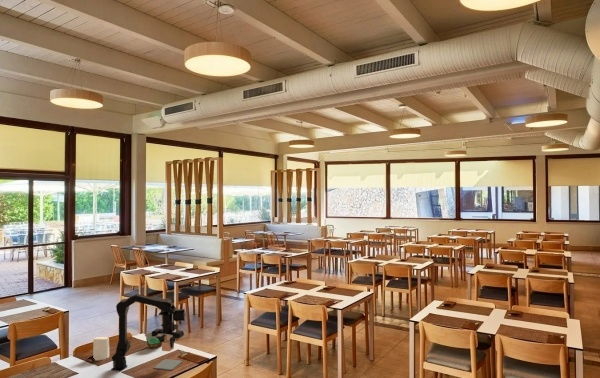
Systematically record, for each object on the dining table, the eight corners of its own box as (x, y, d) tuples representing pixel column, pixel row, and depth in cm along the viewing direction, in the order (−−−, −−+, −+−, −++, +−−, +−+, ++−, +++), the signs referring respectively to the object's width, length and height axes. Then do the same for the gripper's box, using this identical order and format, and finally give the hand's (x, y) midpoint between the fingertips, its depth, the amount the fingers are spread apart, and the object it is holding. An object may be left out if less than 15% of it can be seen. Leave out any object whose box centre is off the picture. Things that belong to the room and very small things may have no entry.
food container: (145, 350, 263) (144, 335, 263) (145, 347, 269) (144, 332, 269) (165, 347, 268) (164, 332, 268) (164, 344, 273) (164, 329, 273)
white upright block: (112, 354, 258) (111, 335, 258) (104, 360, 249) (103, 341, 249) (98, 354, 259) (98, 335, 259) (90, 360, 250) (89, 340, 250)
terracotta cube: (161, 350, 239) (161, 342, 239) (166, 347, 244) (166, 339, 244) (169, 351, 238) (169, 343, 238) (174, 348, 243) (173, 339, 243)
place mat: (153, 368, 237) (153, 367, 237) (165, 360, 248) (165, 359, 248) (171, 370, 234) (171, 369, 234) (182, 361, 245) (182, 360, 245)
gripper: (188, 318, 246) (188, 344, 246) (161, 316, 251) (161, 341, 251) (178, 324, 236) (179, 351, 236) (150, 322, 240) (151, 348, 240)
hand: (167, 347), depth 241 cm, fingers closed on terracotta cube, 5 cm apart
